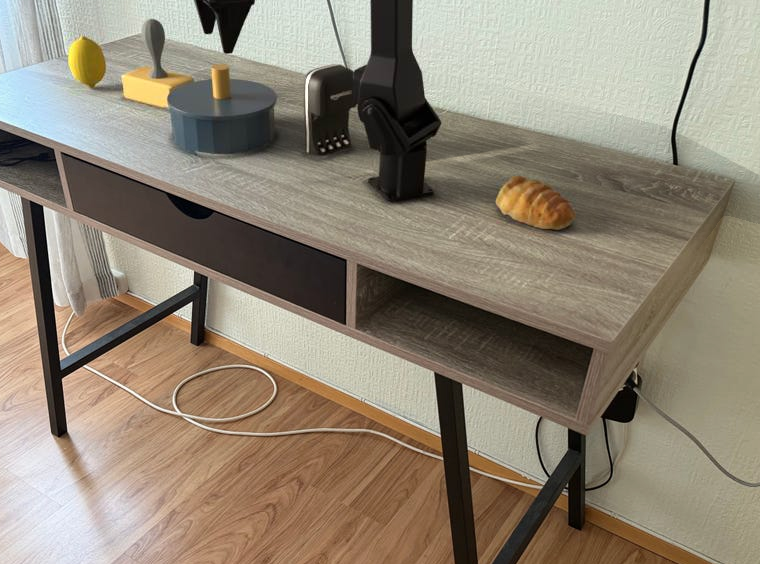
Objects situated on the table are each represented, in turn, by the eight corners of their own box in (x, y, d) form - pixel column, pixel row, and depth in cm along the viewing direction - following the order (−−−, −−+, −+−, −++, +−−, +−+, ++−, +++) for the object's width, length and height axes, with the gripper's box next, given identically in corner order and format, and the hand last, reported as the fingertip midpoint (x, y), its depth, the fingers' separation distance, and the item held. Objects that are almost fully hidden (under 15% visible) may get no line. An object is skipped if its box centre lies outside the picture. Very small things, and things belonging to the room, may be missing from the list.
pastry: (584, 221, 98) (590, 192, 96) (552, 240, 94) (558, 210, 92) (520, 195, 104) (525, 167, 101) (488, 212, 100) (491, 183, 97)
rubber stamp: (197, 100, 128) (190, 20, 120) (173, 111, 124) (164, 29, 116) (148, 88, 131) (138, 9, 124) (123, 98, 127) (111, 18, 120)
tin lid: (292, 116, 110) (291, 78, 107) (183, 131, 105) (179, 91, 102) (257, 82, 121) (255, 46, 118) (156, 93, 116) (152, 56, 113)
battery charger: (320, 163, 110) (320, 78, 103) (302, 154, 112) (301, 70, 105) (359, 150, 114) (362, 67, 107) (341, 142, 116) (342, 60, 109)
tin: (288, 149, 113) (288, 111, 110) (188, 163, 109) (184, 125, 105) (256, 114, 124) (254, 79, 121) (163, 126, 119) (159, 89, 116)
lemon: (66, 91, 130) (57, 39, 125) (85, 80, 134) (76, 29, 129) (97, 95, 128) (89, 43, 123) (115, 84, 133) (108, 33, 128)
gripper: (126, -100, 103) (141, 29, 112) (160, -73, 90) (175, 71, 99) (211, -102, 107) (220, 22, 116) (257, -78, 93) (262, 61, 103)
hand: (217, 43), depth 108 cm, fingers open, 9 cm apart
